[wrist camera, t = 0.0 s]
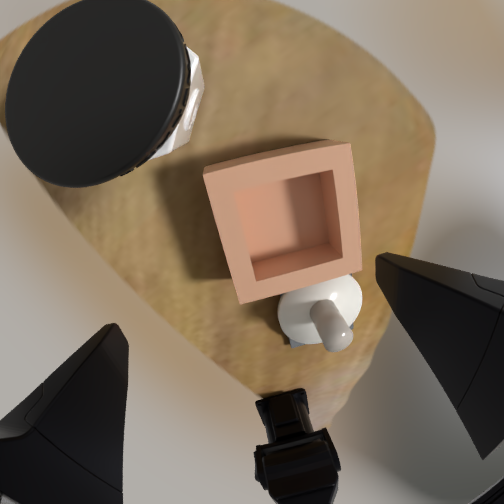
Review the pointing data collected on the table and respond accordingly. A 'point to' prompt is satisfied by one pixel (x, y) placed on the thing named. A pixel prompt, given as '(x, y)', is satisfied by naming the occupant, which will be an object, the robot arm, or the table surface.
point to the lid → (321, 312)
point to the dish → (287, 217)
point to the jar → (102, 92)
